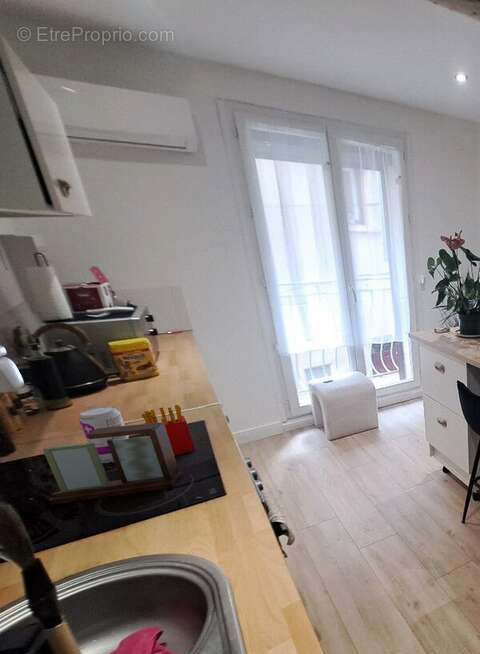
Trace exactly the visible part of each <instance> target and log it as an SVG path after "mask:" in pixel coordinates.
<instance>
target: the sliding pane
mask: <svg viewBox="0 0 480 654" xmlns="http://www.w3.org/2000/svg"><path fill="white" fill-rule="evenodd" d="M42 451H43V454H44V456H45V458H46V460H47V463H48V465H49V467H50V469H51V472H52V474H53V476H54V478H55V481H56V483H57V485H58V488H59V491H61V492H67V491H74V490H82V489H89V488H97V487H104V486H110V483H109V481H110V480H109V478H108V475H107V473H106V470H105V468H104V465H103V463H102V462H101V460H100V457H99V454H98V452H97V449H96V447H95V444H94V443H88V442H86V443H76V444H68V445H59V446H58V445H57V446H49V447H44V448H42Z"/></svg>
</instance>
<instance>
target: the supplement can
mask: <svg viewBox="0 0 480 654" xmlns="http://www.w3.org/2000/svg"><path fill="white" fill-rule="evenodd" d="M78 421H79V423H80V426H81V429H82V431H83V433H84V436H85V439H86V441H87V443H94V444H95V447H96V449H97V452H98V454H99V457H100V460H101V462H102V464H111V463H110V462H112V463H115V462H114V459H113V457H112V454H111V451H110V449H109V446H108V443H107V440H109V439H113V440H118V439H128V438H130V437H129V436H130V435H127V436H117V437H107V438H98V439H89V438H88V436H87V435H88V434H90V433H91V432H93V431H94V430H95V429H98V428H108V427H119V426H126V425H125V421H124V419H123V418H122V414H121V412H120V411H119V410H118V409H116V407H114V406H98V407H94V408H90V409H89V408H88V409H87V410H83V411H82V412H80V415H79V419H78Z"/></svg>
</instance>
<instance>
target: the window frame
mask: <svg viewBox="0 0 480 654" xmlns="http://www.w3.org/2000/svg"><path fill="white" fill-rule="evenodd" d="M147 433H149V435H150V436H148V435H147ZM127 435H128V436H135V435H146V436H138V437H137V436H136V437H129V438H128V439H118V440H113V439H109V440H107V443H108V446H109V449H110V451H111V454H112V457H113V459H114V462H113V463H114V465H115V468H116V470H117V473H118V475H119V478H120V479H114V480H109V483H110V486H104V487H97V488H89V489H82V490H74V491H67V492H61V490H59V491H58V492H53V493H51V494H50V496H51V497H50V499H49V503H50V505H51V506H53V505H62V504H68V503H74V502H73V501H75V502H79V501H78V500H82V501H87V500H86V499H89V500H95V499H94V498H96V499H101V498H100V497H103V498H110V497H117V496H124V495H131V494H137V493H144V492H145V493H146V492H151V491H159V490H165V489H172V488H174V487H175V486H176V484H177V483H178V482H179V481H180V479H181V478H182V472H181V471H180V469H179V466H178V463H177V460H176V456H174V453H173V450H172V447H171V444H170V441H169V438H168V434H167V431H166V428H165V425H164V423H161V422H158V423H149V424H144V423H139V424H131V425H125V426H119V427H108V428H98V429H95V430H94V431H93V432H91V433H90V434H88V435H87V436H88V438H89V439H98V438H107V437H117V436H127ZM109 496H110V497H109Z"/></svg>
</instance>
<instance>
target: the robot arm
mask: <svg viewBox="0 0 480 654" xmlns="http://www.w3.org/2000/svg"><path fill="white" fill-rule="evenodd" d="M6 355H7V350H6V347H4V346H3V345H0V394H2V393H12V392H15V391H17V390H20V389H22V388H23V386H24V384H25V381H24V378H23V376H22V373H20V370H19V369H18V367H17V365H16V364H15V362H13V361H14V360H12V359H10V358H8V357H7V356H6Z"/></svg>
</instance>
